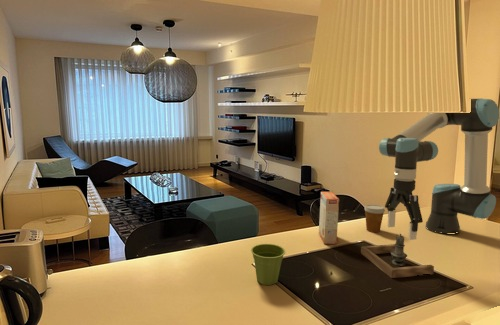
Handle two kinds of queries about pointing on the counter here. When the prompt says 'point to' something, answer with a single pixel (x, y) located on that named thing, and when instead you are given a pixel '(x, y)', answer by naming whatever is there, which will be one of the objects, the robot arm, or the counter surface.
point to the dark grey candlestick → (399, 252)
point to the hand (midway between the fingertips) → (401, 232)
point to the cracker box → (328, 217)
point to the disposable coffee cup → (374, 217)
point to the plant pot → (267, 262)
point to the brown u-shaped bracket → (386, 268)
